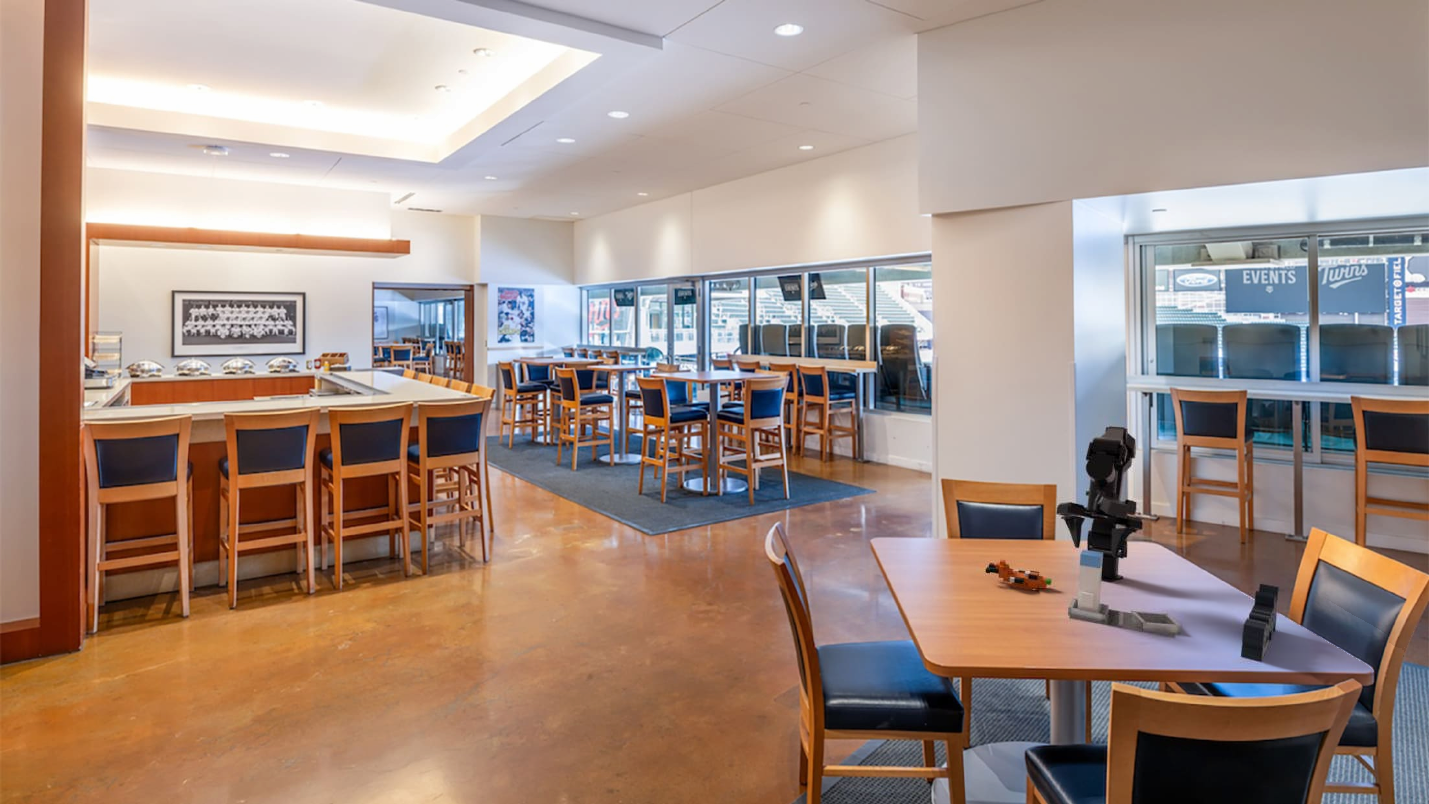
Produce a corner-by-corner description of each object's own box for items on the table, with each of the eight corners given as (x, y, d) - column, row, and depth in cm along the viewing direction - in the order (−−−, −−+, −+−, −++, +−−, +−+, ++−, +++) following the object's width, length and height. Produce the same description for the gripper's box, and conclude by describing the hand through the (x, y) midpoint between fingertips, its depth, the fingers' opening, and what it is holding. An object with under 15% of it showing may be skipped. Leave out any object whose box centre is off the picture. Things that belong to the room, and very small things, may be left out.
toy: (991, 554, 192) (1053, 564, 184) (990, 576, 192) (1052, 587, 185) (985, 562, 185) (1049, 572, 177) (984, 585, 186) (1048, 596, 178)
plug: (1079, 608, 168) (1082, 549, 167) (1099, 612, 166) (1103, 552, 165) (1076, 615, 164) (1079, 555, 163) (1096, 619, 162) (1100, 558, 161)
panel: (1172, 622, 162) (1172, 619, 162) (1174, 640, 153) (1175, 636, 153) (1073, 605, 172) (1073, 601, 172) (1069, 620, 163) (1069, 616, 163)
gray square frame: (1130, 619, 164) (1131, 610, 163) (1166, 622, 162) (1167, 613, 162) (1142, 632, 156) (1143, 623, 156) (1180, 636, 155) (1181, 626, 155)
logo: (1256, 626, 161) (1260, 582, 160) (1275, 630, 159) (1279, 586, 158) (1240, 660, 144) (1244, 611, 143) (1261, 665, 142) (1265, 615, 141)
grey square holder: (1072, 607, 171) (1073, 598, 171) (1108, 614, 167) (1108, 605, 167) (1067, 617, 165) (1068, 607, 164) (1104, 624, 161) (1105, 615, 160)
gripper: (1084, 476, 170) (1076, 543, 167) (1161, 494, 170) (1154, 561, 167) (1059, 481, 181) (1051, 543, 178) (1131, 498, 181) (1125, 560, 178)
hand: (1095, 552), depth 175 cm, fingers open, 9 cm apart
